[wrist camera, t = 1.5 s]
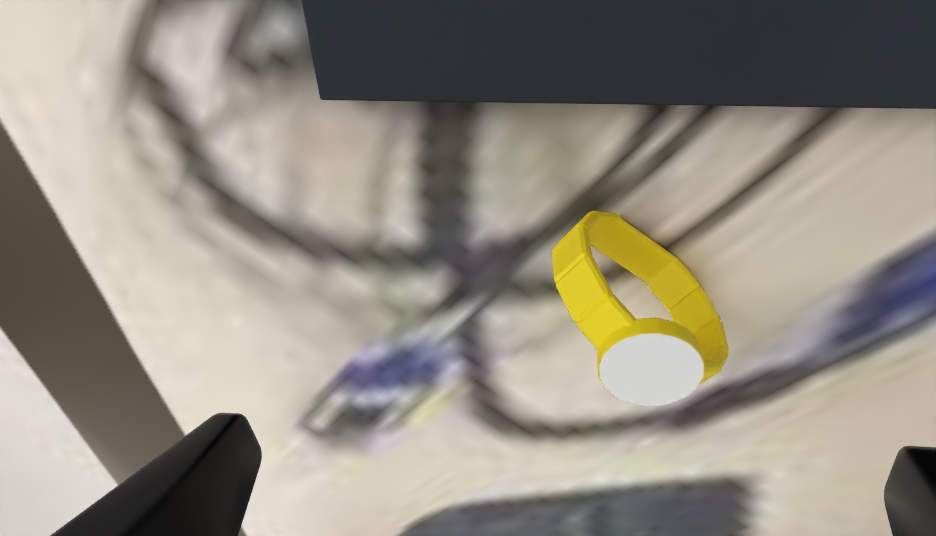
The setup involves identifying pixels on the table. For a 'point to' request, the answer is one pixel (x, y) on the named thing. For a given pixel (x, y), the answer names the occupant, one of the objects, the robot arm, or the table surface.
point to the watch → (643, 340)
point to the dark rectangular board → (628, 51)
